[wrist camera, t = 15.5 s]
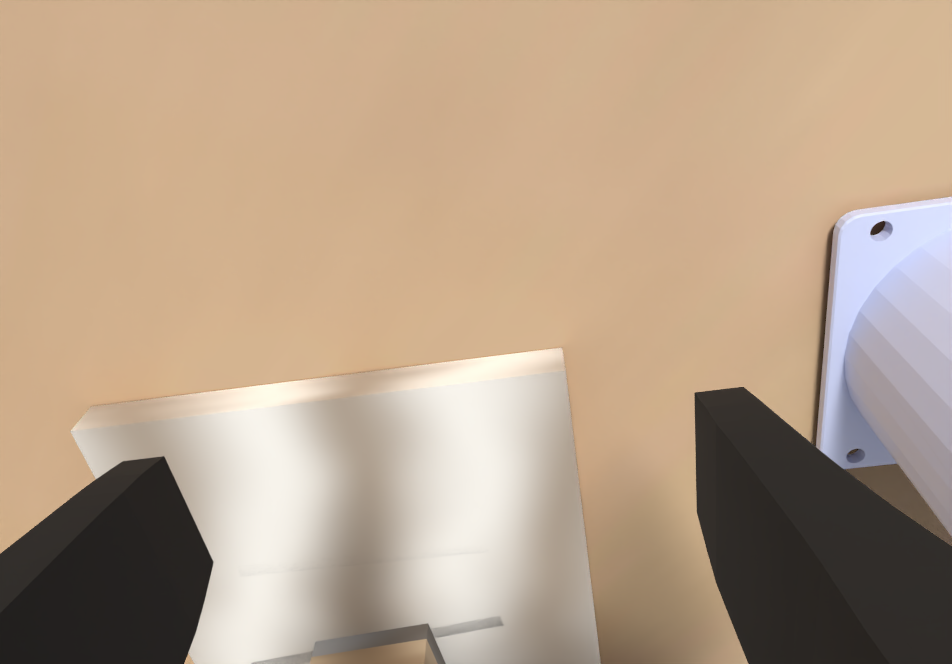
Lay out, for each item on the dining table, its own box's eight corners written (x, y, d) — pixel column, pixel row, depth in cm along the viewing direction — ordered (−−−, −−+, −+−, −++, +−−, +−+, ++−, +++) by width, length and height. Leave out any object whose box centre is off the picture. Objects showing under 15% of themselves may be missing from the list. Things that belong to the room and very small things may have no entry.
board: (562, 347, 20) (565, 370, 19) (608, 735, 29) (613, 765, 28) (90, 406, 22) (70, 431, 21) (269, 759, 30) (261, 789, 29)
